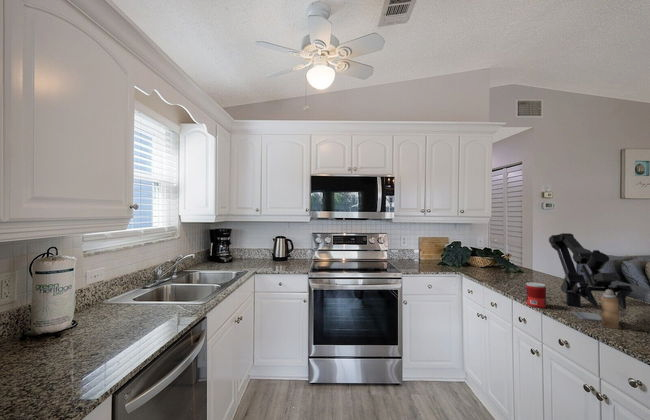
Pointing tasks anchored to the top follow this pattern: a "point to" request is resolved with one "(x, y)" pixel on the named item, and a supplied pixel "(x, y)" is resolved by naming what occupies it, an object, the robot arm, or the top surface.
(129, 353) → the top surface
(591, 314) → the plate
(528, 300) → the canned food
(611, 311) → the pepper mill
